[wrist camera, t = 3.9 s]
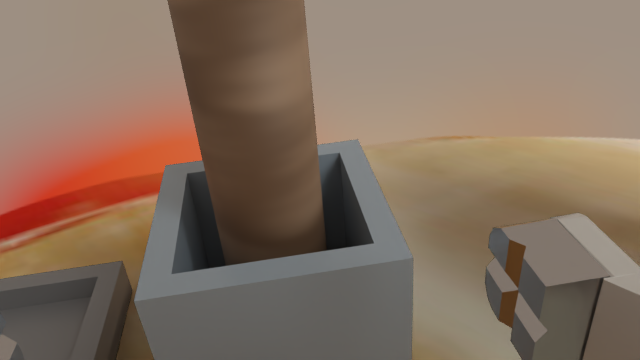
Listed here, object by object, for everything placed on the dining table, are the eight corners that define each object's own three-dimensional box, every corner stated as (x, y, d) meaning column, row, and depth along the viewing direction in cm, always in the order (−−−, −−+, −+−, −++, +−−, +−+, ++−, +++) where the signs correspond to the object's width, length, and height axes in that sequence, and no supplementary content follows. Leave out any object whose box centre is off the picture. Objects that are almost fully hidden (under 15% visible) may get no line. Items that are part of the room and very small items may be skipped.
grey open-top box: (364, 276, 28) (357, 139, 24) (410, 419, 20) (413, 258, 16) (201, 301, 27) (165, 165, 23) (189, 459, 20) (134, 301, 16)
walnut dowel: (328, 313, 26) (294, -40, 17) (343, 381, 22) (309, -18, 14) (246, 327, 25) (171, -26, 17) (248, 398, 22) (156, -1, 14)
